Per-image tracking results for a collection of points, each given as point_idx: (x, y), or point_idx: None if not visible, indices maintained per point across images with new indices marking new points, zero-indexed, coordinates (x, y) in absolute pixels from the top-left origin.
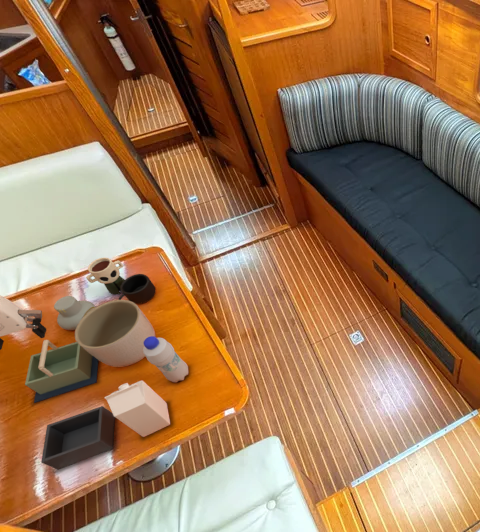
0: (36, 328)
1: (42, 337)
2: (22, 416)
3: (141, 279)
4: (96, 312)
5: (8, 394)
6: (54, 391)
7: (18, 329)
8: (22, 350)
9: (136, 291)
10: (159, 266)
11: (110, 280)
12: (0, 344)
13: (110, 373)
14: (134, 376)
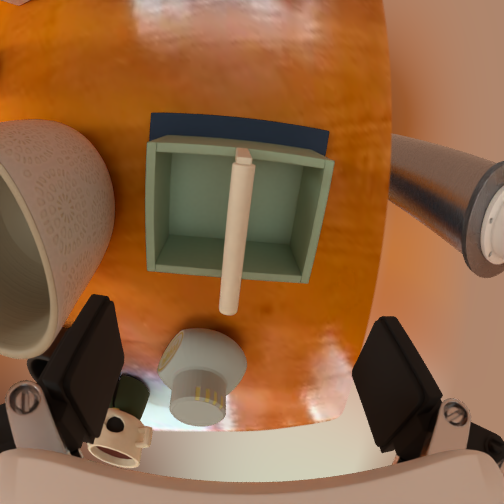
0: (30, 383)
1: (93, 297)
2: (357, 105)
3: None
4: (35, 339)
5: (383, 203)
6: (273, 137)
7: (34, 489)
8: (339, 321)
9: (39, 358)
10: None
11: (107, 414)
12: (371, 355)
13: (115, 131)
14: (59, 96)
